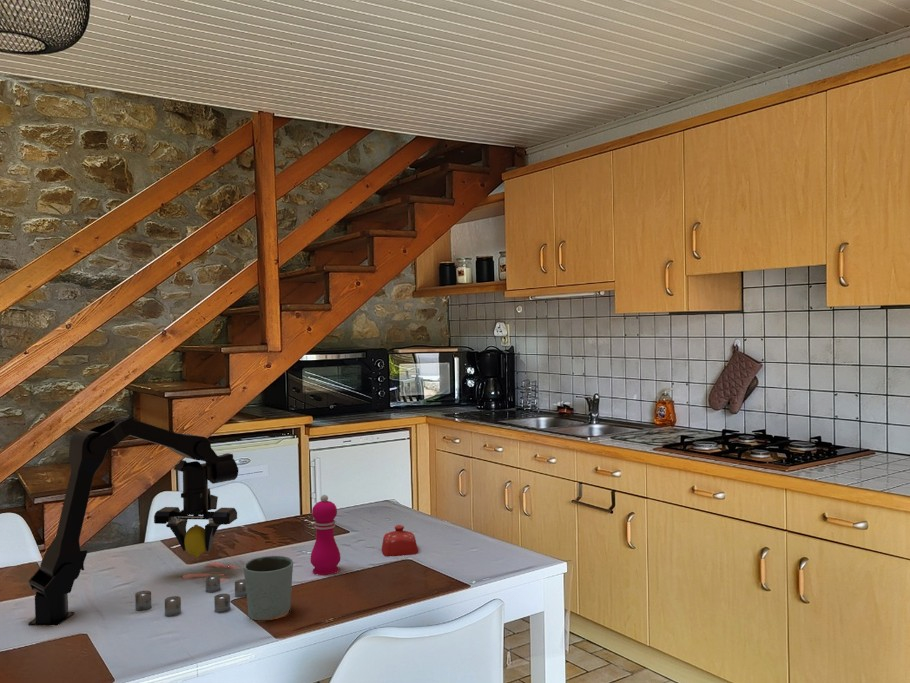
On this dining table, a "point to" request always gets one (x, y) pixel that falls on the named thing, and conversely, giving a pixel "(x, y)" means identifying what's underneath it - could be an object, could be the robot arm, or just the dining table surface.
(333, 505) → the pepper mill
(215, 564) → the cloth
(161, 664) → the dining table surface
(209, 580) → the spacers
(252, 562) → the grey ceramic cup
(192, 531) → the lemon
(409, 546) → the butter dish
